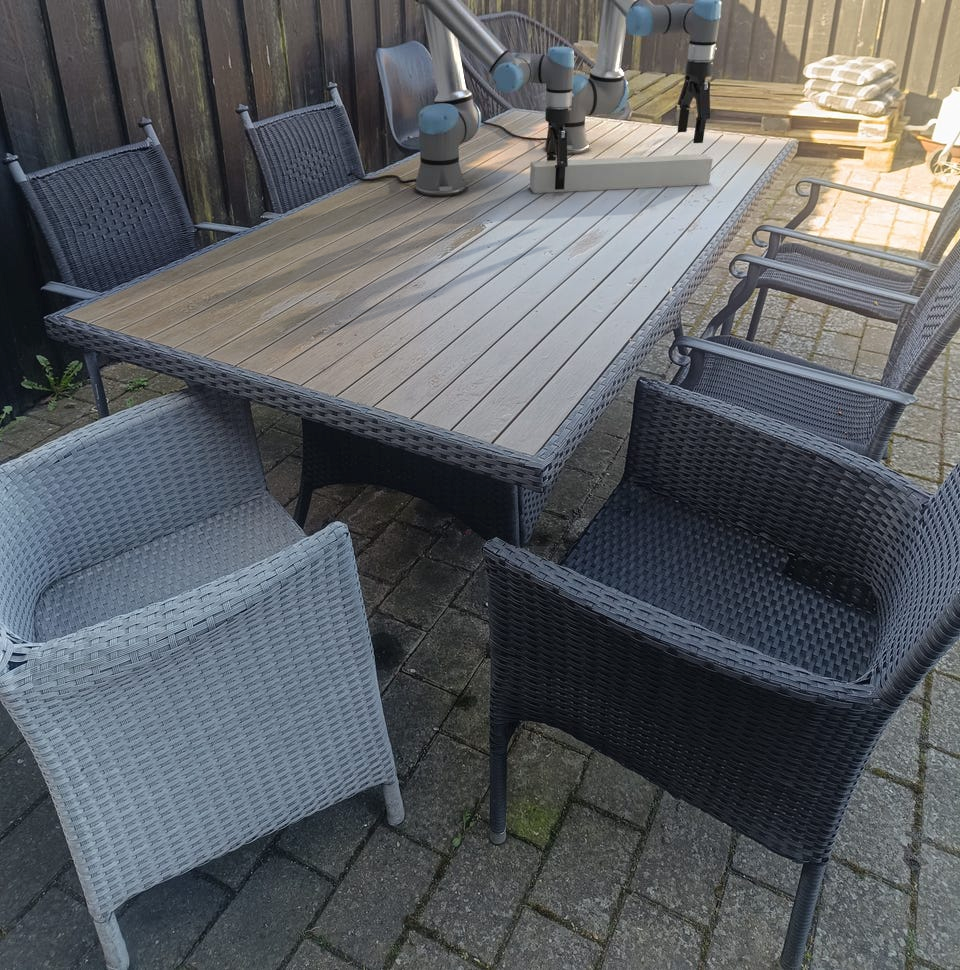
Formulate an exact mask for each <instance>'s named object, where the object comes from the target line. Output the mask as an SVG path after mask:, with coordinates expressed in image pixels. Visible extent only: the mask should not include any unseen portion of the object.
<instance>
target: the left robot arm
mask: <svg viewBox="0 0 960 970" xmlns="http://www.w3.org/2000/svg"><path fill="white" fill-rule="evenodd" d="M414 1H415V2H416V3H417V4H418V5H421V8H422V14H423V20H424V24H425V31H426V35H427V41H428V47H429V51H430V52H429V53H430V57H431V62H432V68H433V73H434V79H435V85H436V90H437V94H436V96H435V98H434V100H433V102H434V103H433V104H429V105H427V106H425V107H422V109H421V110H420V111H419V113H418V122H417V124H418V136H419V138H418V139H419V157H420V158H419V159H420V161H419V162H420V164H419V168H418V172H417V176H416V178H410V179H406V180H403V179H402V178H401V177H400V176H399V175H396V174H385V175H379V176H377V177H371V178H370V177H369V178H364V177H361V176H360V175H358V174H357V172H355V171H349V172H348V173H347V177H351V176H354V177H355V178H356V179H357V180H358V181H361V182H375V181H379V180H383V179H397V181H398V182H399V183H400V184H411V183H415V185H414V186H415V192H417V193H418V194H420V195H424V196H430V197H450V196H455V195H459V194H461V193H463V192H464V191H466V181H465V179H464V176H463V172H462V169H461V165H460V146H461V145H463V144H464V143H467V142H469V141H470V140H472V139H473V138H474V136H476V134H478V132H479V130H480V127H481V124H482V123H481V121H482V114H481V110H480V108H479V107H478V105H477V104H476V103H475V102H474V101H473V93H472V92H471V91H470V90H469V89H468V88H467V87H466V82H465V75H464V70H463V69H464V68H463V63H462V57H461V52H460V46H459V42H460V43H461V44H462V45H463V47H464V48H466V50H468V52H469V53H470V54H471V55H472V56H473V57H474V58H475V59H476V60H477V61H478V63H480V64H481V65H482V67H484V69H485V70H486V71H487V72H488V73H490V75H491V76H492V80H493V84H494V86H495V88H496V89H497V90H498V91H499V92H501V93H505V94H507V93H512V92H513V93H514V92H516V91H518V90H519V89H521V88H522V87H525V86H526V85H528V84H542V85H544V84H545V85H546V89H545V106H546V107H545V113H544V115H545V116H544V117H545V118H544V119H545V121H546V122H547V124H548V125H547V134H546V138H547V141H546V140H545V143H546V149H545V148H544V150H545V153H546V161H557V165H555V168H556V175H555V190H561V189H564V183H565V167H567V166H568V160H569V159H568V154H567V133H568V132H567V130H565V129H564V124H565V123H568V122H570V120H571V108H570V106H571V104H572V97H574V94H572V87H573V75H574V73H575V51H574V49H573V48H572V47H569V46H551V47H549V48H548V49H547V53H546V54H542V53H540V54H539V53H528V52H520V51H519V52H510V50H509V49H508V48H507V47H505V46H506V45H504V44H503V43H502V42H501V41H500V40H499V39H498V38H497V37H496V35H494V34H493V33H492V31H490V29H489V28H488V27H487V26H486V25H485V24H484V23H483V22H482V21H481V20H480V19H479V18H478V16H476V14H474V12H473V11H472V10H471V9H470V8H469V7H468V6H467V5H466V3H464V2H463V1H462V0H414ZM561 162H563V163H561Z"/></svg>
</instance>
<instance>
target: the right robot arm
mask: <svg viewBox="0 0 960 970" xmlns="http://www.w3.org/2000/svg"><path fill="white" fill-rule="evenodd" d="M601 8H602V10H601V17H600V25H599V33H598V41H597V50H596V57H595V65H594V66H593V67H592V68H591V69H590V71H589V77H588V76H587V75H586V74H582V73H581V74H580V73H577V74H573V87H572V94H574V97H572V104H571V106H570V108H571V120H570V122H568V123H565V124H564V129H565V130H567V132H568V133H567V155H578V154H579V155H580V154H584V153H586V152H588V151H589V147H590V146H589V140H588V137H587V136H588V135H587V131H586V117H590V116H598V115H599V116H600V115H611V114H613V113H614V114H615V113H618V112H620V111H621V110H622V109H623V108H624V107H625V105H626V104H627V101H628V97H629V92H630V90H629V89H630V88H629V82H628V80H627V78H626V77H625V72H624V71H623V69H622V68H621V67H622V59H623V53H624V45H625V41H626V40H625V38H626V32H627V33H628V34H629V35H630V36H633V37H646V36H657V35H670V34H671V35H673V34H687V35H690V36H689V43H688V49H687V56H686V57H687V59H688V60H687V61H686V67H685V77H684V81H683V84H682V88H681V92H680V94H679V98H678V101H677V106H679V116H678V122H677V123H678V124H677V130H676V131H677V133H687V130H688V123H689V117H690V109H691V103H692V102H693V99H694V100H695V106H696V113H697V117H696V118H695V127H694V134H693V135H694V136H693V140H692V141H693V144H703V143H704V137H705V130H706V123H707V121H708V120H710V119H711V82H710V81H707V77H710V76H712V75H713V67H714V61H713V60H714V59H715V52H716V51H717V47H716V45H717V40H718V35H719V27H720V20H721V17H722V16H721V11H722V1H721V0H695V1H694V4H691V3H687V2H685V1H680V2H679V1H675V2H672V3H671V4H670V3H669V4H653V3H652V1H651V0H603V1H602V7H601ZM481 124H483V125H486V126H492V127H496V128H499V129H501V130H503V131H504V132H505V133H507V134H508V135H510V136H511V137H513V138H518V139H522V140H530V141H545V143H544V150H545V149H546V141H547V137H529V136H521V135H518V134H515V133H513V132H511V131H510V130H508V129H506V128H505V127H503V126H502V125H499V124H497V123H492V122H487V121H484V120H481Z"/></svg>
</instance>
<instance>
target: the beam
mask: <svg viewBox="0 0 960 970" xmlns="http://www.w3.org/2000/svg"><path fill="white" fill-rule="evenodd" d="M713 161H714V159H713V158H712V157H711V156H709V155H708V154H706V153H695V154H674V155H671V154H670V155H649V156H628V157H605V158H602V157H601V158H579V159H568V166H567V167H565V183H564V189H561V190H555V175H556V168H555V165H557V160H556V161H547V160H538V161H530V166H529V167H530V171H529V188H530V190H531V192H532V193H533V194H545V193H565V192H566V193H567V192H585V191H586V192H588V191H605V190H606V191H608V190H609V191H610V190H626V189H628V190H629V189H645V188H646V189H647V188H649V189H650V188H667V187H686V186H708V185H710V179H711V173H712V167H713ZM561 163H563V162H561Z"/></svg>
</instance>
